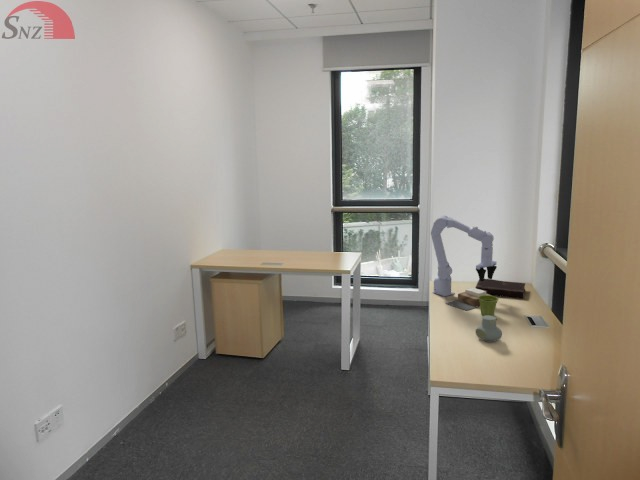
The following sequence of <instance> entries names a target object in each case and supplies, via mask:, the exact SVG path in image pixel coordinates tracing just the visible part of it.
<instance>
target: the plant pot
mask: <svg viewBox="0 0 640 480" xmlns="http://www.w3.org/2000/svg"><path fill="white" fill-rule="evenodd" d="M478 299H479V302H480V306H479V307H480V315H481V316H482V317H483V316H486V315H490V316H494V317H495V312H496V308H497V303H498V302H499V298H498V296H490V295H482V296H479V297H478Z"/></svg>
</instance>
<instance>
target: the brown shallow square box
mask: <svg viewBox="0 0 640 480" xmlns="http://www.w3.org/2000/svg"><path fill="white" fill-rule="evenodd" d="M486 295H489V294H486ZM490 296H491V295H490ZM457 301H460V302H463V303H466V304H469V305H472V306H475V307H477V308H478V307H480V302H479V299H478V297H476V296H473V295H470V294H466V293H465V291H463V292H460V293H457Z"/></svg>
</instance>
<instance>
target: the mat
mask: <svg viewBox="0 0 640 480" xmlns="http://www.w3.org/2000/svg"><path fill="white" fill-rule="evenodd" d="M445 304H446V305H447V306H451V307H454V308H457V309H460V310H463V311H466V312H467V311H470V310H473V309H476V308H477V309H478V306H477V307H475V306H472V305H469V304H466V303H463V302H460V301H458V299H457V300H456V299H454V300H452V301H448V302H445Z"/></svg>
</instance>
